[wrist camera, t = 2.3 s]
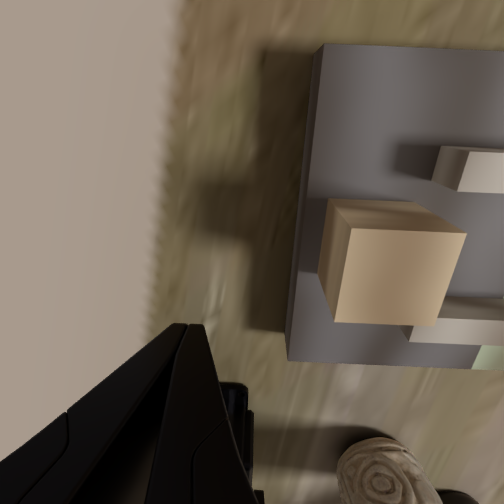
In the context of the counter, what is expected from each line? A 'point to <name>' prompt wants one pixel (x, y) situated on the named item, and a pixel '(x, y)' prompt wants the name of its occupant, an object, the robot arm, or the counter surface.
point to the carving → (383, 475)
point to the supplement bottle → (456, 498)
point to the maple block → (386, 261)
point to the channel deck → (405, 194)
